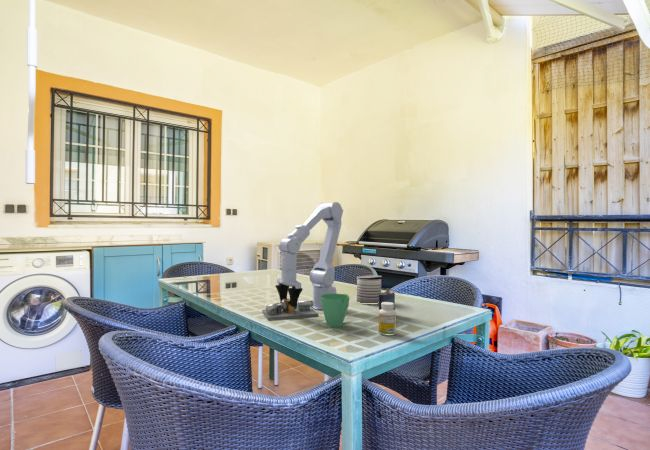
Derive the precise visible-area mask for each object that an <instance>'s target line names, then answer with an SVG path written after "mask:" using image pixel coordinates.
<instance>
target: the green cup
mask: <svg viewBox="0 0 650 450" xmlns="http://www.w3.org/2000/svg"><path fill="white" fill-rule="evenodd" d="M349 302H350V296H349V294H347V293H343V294H342V293H337V294H324V295H321V303H322V308H323V309H322V313H323V315H324V319H325V322H326V325H327V327H329V328H341V327H342V326H343V323H344V321H345V318H346V315H347V312H348V308H349V306H350V305H349Z"/></svg>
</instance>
